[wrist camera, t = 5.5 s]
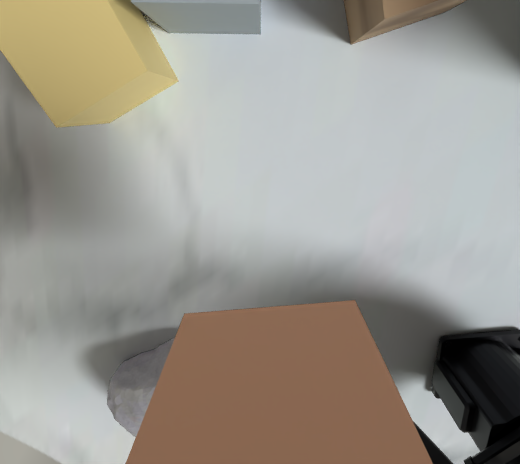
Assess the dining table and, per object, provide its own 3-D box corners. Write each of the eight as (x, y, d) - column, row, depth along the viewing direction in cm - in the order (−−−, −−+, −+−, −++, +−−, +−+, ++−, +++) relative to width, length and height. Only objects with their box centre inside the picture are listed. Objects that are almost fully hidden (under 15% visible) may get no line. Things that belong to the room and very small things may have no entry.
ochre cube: (126, -15, 15) (67, -69, 11) (179, 81, 17) (147, 70, 12) (53, 36, 16) (-31, 7, 12) (109, 123, 18) (56, 127, 13)
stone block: (211, 308, 25) (106, 363, 25) (214, 346, 21) (86, 413, 21) (268, 394, 30) (179, 441, 30) (280, 441, 25) (176, 496, 25)
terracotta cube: (354, 300, 9) (462, 526, 4) (352, 418, 10) (423, 665, 6) (184, 313, 9) (94, 541, 4) (212, 426, 11) (172, 669, 6)
